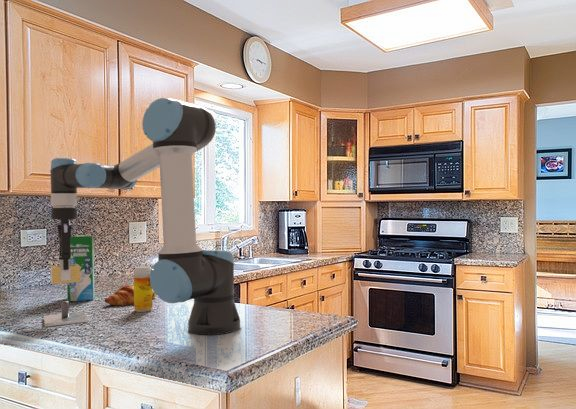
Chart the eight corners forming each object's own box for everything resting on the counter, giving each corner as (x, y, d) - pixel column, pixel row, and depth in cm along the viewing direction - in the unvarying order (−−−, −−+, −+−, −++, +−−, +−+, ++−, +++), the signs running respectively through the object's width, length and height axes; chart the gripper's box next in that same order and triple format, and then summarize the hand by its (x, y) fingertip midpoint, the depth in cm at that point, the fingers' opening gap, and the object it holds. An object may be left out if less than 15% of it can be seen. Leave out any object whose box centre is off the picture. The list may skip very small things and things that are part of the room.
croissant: (152, 305, 190) (146, 287, 193) (165, 296, 185) (159, 277, 187) (101, 314, 174) (96, 293, 177) (114, 304, 168) (109, 283, 171)
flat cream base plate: (87, 321, 150) (87, 302, 150) (44, 326, 145) (44, 307, 145) (84, 314, 161) (83, 296, 161) (44, 318, 155) (43, 300, 155)
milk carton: (94, 296, 193) (93, 234, 193) (93, 300, 185) (92, 235, 185) (70, 297, 191) (69, 235, 191) (67, 302, 182) (66, 236, 182)
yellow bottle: (147, 312, 162) (146, 268, 162) (130, 312, 164) (130, 268, 164) (155, 308, 168) (155, 266, 168) (139, 308, 170) (139, 265, 170)
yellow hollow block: (80, 281, 151) (80, 266, 151) (52, 284, 147) (51, 267, 148) (77, 279, 158) (77, 264, 158) (50, 281, 154) (50, 265, 155)
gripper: (79, 207, 145) (80, 281, 145) (74, 206, 164) (75, 273, 164) (52, 207, 142) (53, 284, 142) (50, 207, 160) (50, 274, 160)
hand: (65, 278), depth 153 cm, fingers closed on yellow hollow block, 8 cm apart
